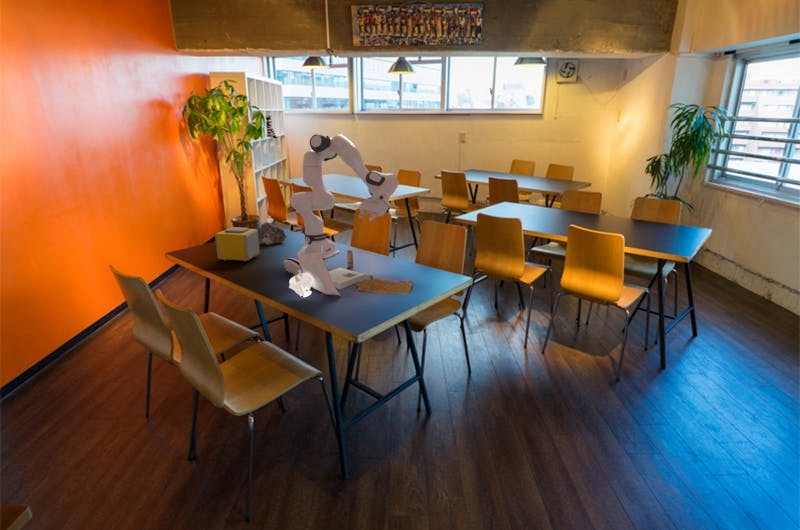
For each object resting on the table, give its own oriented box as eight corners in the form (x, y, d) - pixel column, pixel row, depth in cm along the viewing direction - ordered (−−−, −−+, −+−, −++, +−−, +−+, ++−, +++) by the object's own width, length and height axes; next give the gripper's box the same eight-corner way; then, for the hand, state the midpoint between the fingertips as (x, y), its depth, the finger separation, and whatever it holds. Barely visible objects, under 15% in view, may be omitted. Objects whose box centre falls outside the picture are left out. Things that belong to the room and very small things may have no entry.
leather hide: (346, 291, 223) (346, 282, 221) (382, 274, 242) (382, 266, 240) (390, 313, 207) (391, 303, 205) (425, 292, 226) (426, 283, 223)
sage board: (340, 272, 246) (340, 267, 245) (364, 279, 236) (364, 274, 235) (315, 281, 233) (314, 275, 232) (340, 289, 222) (339, 283, 221)
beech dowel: (350, 266, 257) (349, 248, 254) (354, 267, 255) (354, 249, 252) (346, 267, 255) (345, 249, 251) (350, 269, 253) (350, 250, 249)
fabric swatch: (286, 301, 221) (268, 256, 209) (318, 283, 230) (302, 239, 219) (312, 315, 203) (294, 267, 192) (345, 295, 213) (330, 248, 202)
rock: (267, 221, 292) (265, 213, 304) (253, 237, 293) (251, 228, 306) (290, 237, 302) (286, 228, 314) (275, 253, 304) (273, 243, 316)
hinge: (311, 276, 241) (305, 260, 236) (304, 280, 238) (298, 265, 233) (294, 269, 252) (287, 254, 247) (287, 273, 250) (280, 258, 244)
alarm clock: (261, 256, 276) (258, 226, 270) (248, 264, 261) (245, 232, 255) (231, 254, 279) (228, 225, 273) (217, 262, 264) (213, 231, 259)
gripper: (365, 193, 258) (351, 212, 255) (386, 198, 243) (371, 218, 240) (371, 200, 262) (357, 219, 259) (393, 205, 247) (378, 225, 244)
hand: (364, 218), depth 249 cm, fingers open, 8 cm apart
